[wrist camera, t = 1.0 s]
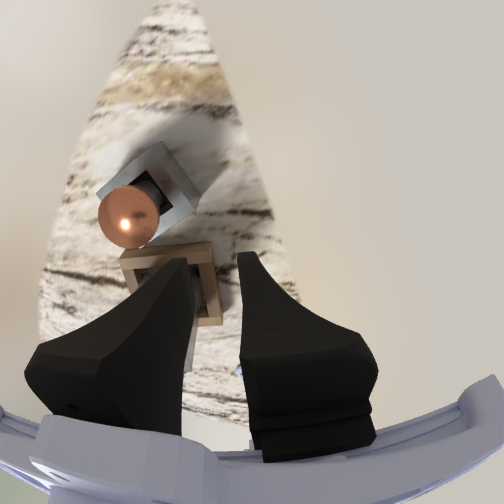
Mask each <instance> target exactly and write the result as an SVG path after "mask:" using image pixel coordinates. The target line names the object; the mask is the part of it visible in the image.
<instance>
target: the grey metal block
mask: <svg viewBox="0 0 504 504" xmlns="http://www.w3.org/2000/svg"><path fill="white" fill-rule="evenodd" d="M188 267H189V272H190V276H191V281H192V285H193V289H194V293H195V298H196V300H195V314H194V322H193V327H192V331H191V336H190V341H189V346H188V350H187V355H186V360H185V366H184V372H191V370H192V363H193V355H194V348H195V341H196V334H197V328H198V321H199V314H200V308H201V302H202V300H201V296H200V291H199V287H198V282H197V277H196V273H195V268H194V264H188ZM160 268H162V267H152V268H147V269H146V271H145V273H144V275H143V277H142V279H141V281H140V283H139V285H138V287H137V289H139V288H140V287H141V286H142V285H143V284H144V283H145V282H147V281H148V280H149V279H150V278H151V277H152V276H153V275H154V274H155V273H156V272H157V271H158V270H159V269H160ZM137 289H136V290H137Z"/></svg>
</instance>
